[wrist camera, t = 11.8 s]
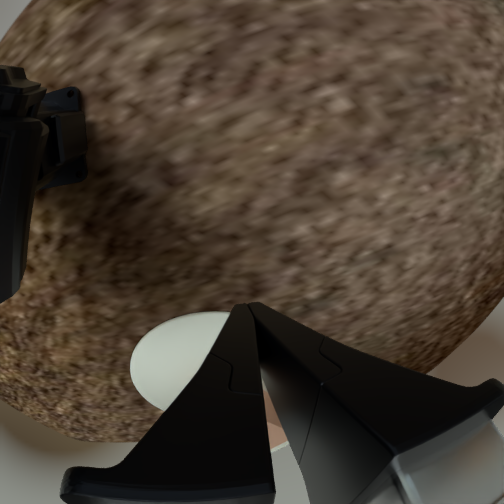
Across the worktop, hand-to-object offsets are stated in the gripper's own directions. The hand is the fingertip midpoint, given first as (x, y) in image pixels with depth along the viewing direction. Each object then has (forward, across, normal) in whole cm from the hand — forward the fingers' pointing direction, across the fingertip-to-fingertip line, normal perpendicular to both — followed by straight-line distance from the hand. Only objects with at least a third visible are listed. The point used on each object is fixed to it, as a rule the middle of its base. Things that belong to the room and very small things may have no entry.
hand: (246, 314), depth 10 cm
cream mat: (+12, -2, -17) cm, 21 cm away
